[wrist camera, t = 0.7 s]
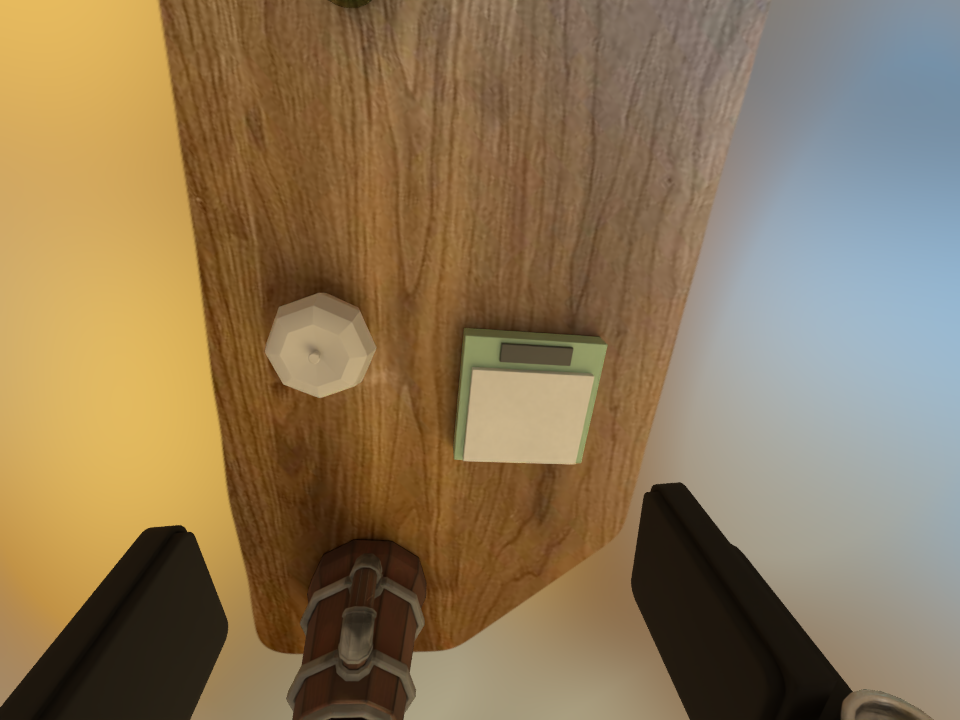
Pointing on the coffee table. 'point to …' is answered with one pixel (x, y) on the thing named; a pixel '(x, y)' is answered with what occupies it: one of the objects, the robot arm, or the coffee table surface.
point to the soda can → (350, 3)
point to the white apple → (320, 345)
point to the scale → (526, 396)
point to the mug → (360, 634)
